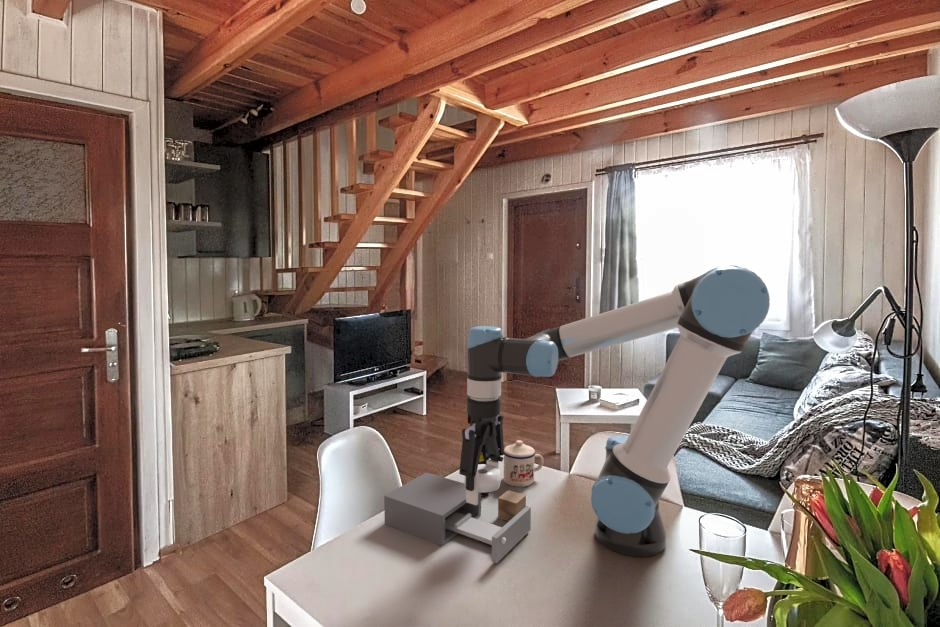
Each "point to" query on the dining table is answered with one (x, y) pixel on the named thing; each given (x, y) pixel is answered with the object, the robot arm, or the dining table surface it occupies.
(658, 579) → the dining table surface
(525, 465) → the teacup with lid
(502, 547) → the pull-out drawer
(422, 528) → the gray drawer box
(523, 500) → the brown block
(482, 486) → the white domed disc
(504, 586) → the dining table surface
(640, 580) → the dining table surface
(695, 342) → the robot arm
